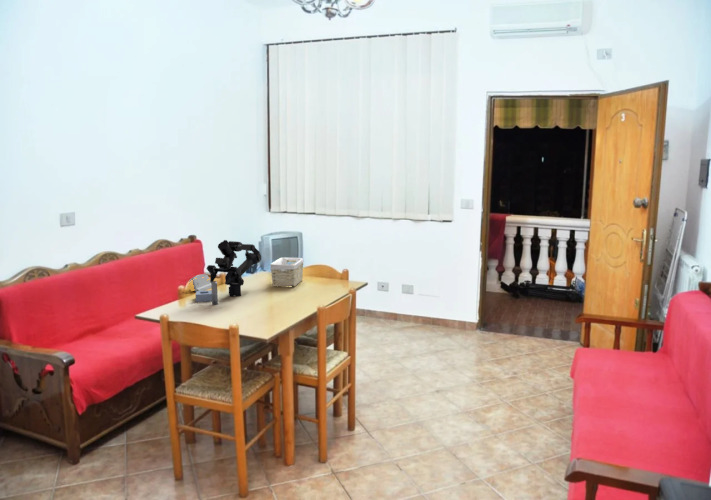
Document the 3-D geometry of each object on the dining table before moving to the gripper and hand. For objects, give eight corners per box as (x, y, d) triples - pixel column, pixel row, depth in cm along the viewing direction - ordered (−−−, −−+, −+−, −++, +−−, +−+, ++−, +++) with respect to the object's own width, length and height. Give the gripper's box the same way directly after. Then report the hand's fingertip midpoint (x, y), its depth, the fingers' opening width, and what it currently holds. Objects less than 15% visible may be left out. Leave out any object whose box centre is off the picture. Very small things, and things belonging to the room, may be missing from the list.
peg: (217, 303, 302) (217, 281, 300) (217, 304, 299) (216, 282, 297) (212, 303, 301) (211, 281, 299) (212, 305, 298) (211, 282, 296)
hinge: (198, 292, 326) (193, 276, 325) (192, 294, 328) (186, 278, 327) (214, 286, 342) (209, 271, 341) (208, 288, 343) (202, 273, 343)
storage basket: (295, 288, 338) (294, 264, 336) (269, 287, 341) (269, 263, 338) (304, 279, 361) (304, 257, 359) (280, 279, 364) (280, 257, 361)
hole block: (213, 297, 316) (212, 290, 315) (212, 300, 307) (212, 293, 306) (196, 297, 314) (196, 291, 313) (195, 301, 305) (195, 294, 304)
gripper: (207, 250, 307) (196, 274, 299) (237, 252, 301) (227, 276, 293) (216, 262, 316) (205, 285, 307) (244, 264, 310) (235, 287, 301)
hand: (218, 283), depth 302 cm, fingers open, 9 cm apart
